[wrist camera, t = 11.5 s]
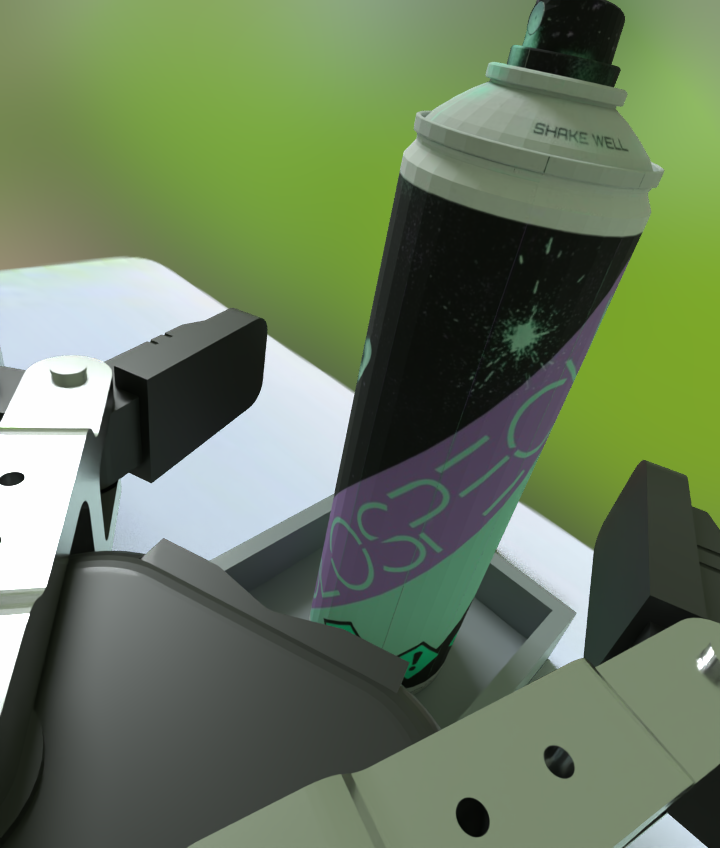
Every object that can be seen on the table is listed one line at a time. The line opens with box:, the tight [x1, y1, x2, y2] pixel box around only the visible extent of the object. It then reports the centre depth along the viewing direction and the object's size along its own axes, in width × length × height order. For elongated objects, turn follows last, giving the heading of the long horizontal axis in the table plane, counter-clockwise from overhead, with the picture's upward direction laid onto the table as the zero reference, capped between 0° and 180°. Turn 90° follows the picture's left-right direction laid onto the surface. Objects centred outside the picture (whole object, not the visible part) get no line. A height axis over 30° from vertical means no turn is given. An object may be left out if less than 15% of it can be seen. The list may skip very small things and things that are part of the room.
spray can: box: [309, 0, 664, 695], centre depth 16 cm, size 6×6×20 cm
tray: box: [210, 494, 576, 730], centre depth 21 cm, size 10×10×3 cm
